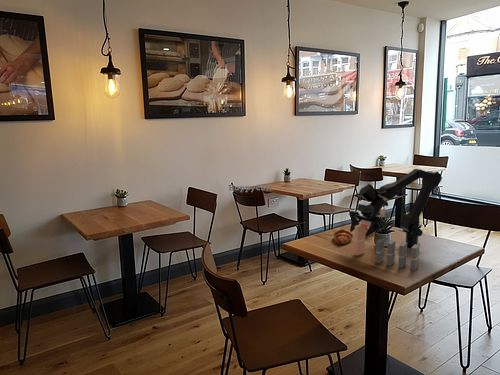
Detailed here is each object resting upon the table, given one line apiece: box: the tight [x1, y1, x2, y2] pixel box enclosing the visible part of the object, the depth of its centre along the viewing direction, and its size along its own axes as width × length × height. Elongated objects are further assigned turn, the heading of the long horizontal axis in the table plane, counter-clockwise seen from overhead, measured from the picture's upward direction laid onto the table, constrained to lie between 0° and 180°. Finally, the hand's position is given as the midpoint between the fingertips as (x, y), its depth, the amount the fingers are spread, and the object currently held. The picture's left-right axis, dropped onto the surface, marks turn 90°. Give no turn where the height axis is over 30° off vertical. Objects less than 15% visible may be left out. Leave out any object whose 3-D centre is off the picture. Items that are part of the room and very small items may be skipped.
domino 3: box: [386, 240, 396, 267], centre depth 170 cm, size 5×2×10 cm, turn 143°
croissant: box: [333, 227, 354, 245], centre depth 205 cm, size 21×10×8 cm, turn 162°
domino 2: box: [374, 237, 385, 264], centre depth 173 cm, size 5×2×10 cm, turn 143°
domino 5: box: [409, 244, 420, 272], centre depth 164 cm, size 5×2×10 cm, turn 143°
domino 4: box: [397, 241, 408, 269], centre depth 167 cm, size 5×2×10 cm, turn 143°
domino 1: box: [353, 224, 366, 256], centre depth 182 cm, size 5×2×14 cm, turn 123°
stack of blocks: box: [360, 206, 386, 237], centre depth 219 cm, size 21×6×12 cm, turn 142°
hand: (358, 233), depth 181 cm, fingers open, 9 cm apart
